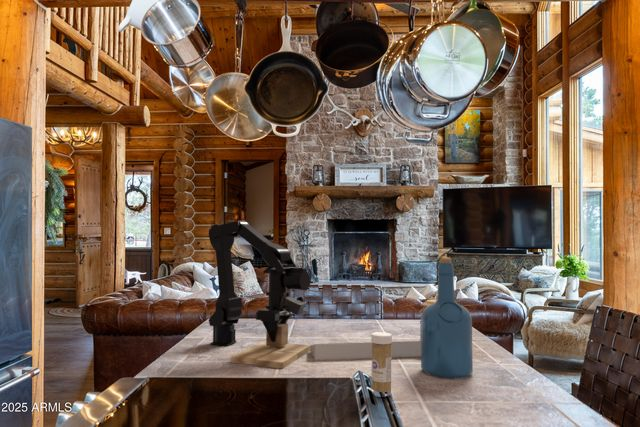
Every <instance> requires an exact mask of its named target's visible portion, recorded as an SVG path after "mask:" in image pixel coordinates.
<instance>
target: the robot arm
mask: <svg viewBox="0 0 640 427" xmlns="http://www.w3.org/2000/svg"><path fill="white" fill-rule="evenodd" d="M239 236H240V237H241V238H242V239H243V240H245V241H246V242H247V243H248V244H250V245H251V246H252V247H253V248H254V249H255V250H257V251H258V252H259V253H260V255H261V258H262V259H263V260H264V262H265V263H266V264H267V267H266V268H265V269H264V270H263V271H262V274H268V291H266V292H265V296H267V297H268V301H267V302H268V304H267V305H265V308H261V309H259V310H257V311H256V312H255V320H256V321H260V322H262V324H263V326H264V327H265V330H266V332H268V335H269V337H270V339H271V341H272V342H275V340H276V334H277V326H278V324H279V323H282V324H288V321H289V320H290V319H291V318H292V317H293V316H294V315H297V316H298V315H300V314H303V311H304V309H305V308H306V305H307V304H306V302H305V300H306V299H305V297H304V296H301V295H300V296H299V295H298V296H297V298H296V297H292V296H291V292H290V290H293V291H307V290H309V288H310V286H311V280H312V279H311V276H310V274H309V272H308V268H307V267H297V265H296V263H295V261H294V260H293V258H292V256H291V252H290V250H289V248H286V247H285V246H282V245H280V244H279V243H275V242H272V241H271V240H269V239H267V237H265V236H264V235H263V234H261V233H260V232H259V231H258V230H256V229H255V228H254V227H252V226H251V225H250V224H249V223H248V222H247V221H246V220H235V221H231V222H227V223H222V224H219V223H217V224H213V225H211V227H210V228H209V230H208V238H209V241H210V242H209V243H210V245H211V246H212V248H213V249H214V251H215V257H216V271H217V280H218V281H217V282H218V292H219V293H218V294H219V295H218V297H217V300H216V302H215V311H214V312H213V314H212V315H211V316H210V317H209V318H208V324H209V326H210V327H212V328H213V329H212V341H211V342H210V343H209V344H210V345H214V346H215V345H216V346H224V347H227V346H230V345H232V344H235V343H237V340H236V329H235V324H236V325H237V324H238V323H239V319H240V317H241V315H242V313H243V312H242V311H243V310H244V308H243V298H242V297H241V296H239V297H238V296H237V294H236V293H235V292H236V291H235V282H234V270H233V261H232V252H231V251H232V248H233V245H234V243H235V238H236V237H239ZM288 290H289V291H288ZM290 313H292V314H290Z"/></svg>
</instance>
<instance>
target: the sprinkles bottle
mask: <svg viewBox="0 0 640 427" xmlns="http://www.w3.org/2000/svg"><path fill="white" fill-rule="evenodd" d="M370 340H371V341H370V342H372V359H371V390H372V389H373V390H375V391H377V392H387V391H390V393H391V395H392V358H391V343H392V342H393V334H392V333H389V332H384V331H376V332H372V333H371V339H370Z"/></svg>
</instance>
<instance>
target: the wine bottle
mask: <svg viewBox="0 0 640 427" xmlns="http://www.w3.org/2000/svg"><path fill="white" fill-rule="evenodd" d="M436 275H437V276H438V278H437V294H438V299H437V301H436V302H435V303H433V304H431V305H429V306H427V307H426V308H425V309H424V311H423V313H422V315H421V314H420V315H421V316H420V321H421V357H420V364H421V365H420V366H421V367H420V368H421V370H422V372H423V373H425V374H427V375H430V376H433V377H435V378H436V377H437V378H440V379H442V378H443V379H451V380H453V379H464V378H467V377H470V376H472V374H473V371H474V370H473V367H474V366H473V318H472V315H471V313H470V312H469V310H468V309H467V308H466V307H464V306H463V305H461V304H459V303H458V302H457V301H456V299H455V285H454V284H455V281H454V279H455V278H454V276H455V271H454V263H453V262H452V258H451V257H440V262H438V268H437V274H436Z"/></svg>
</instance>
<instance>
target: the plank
mask: <svg viewBox="0 0 640 427" xmlns="http://www.w3.org/2000/svg"><path fill="white" fill-rule="evenodd" d="M277 348H279V347H276V346H266V341H264V342H263V341H261V342H259V343H256V344H255V345H253V346H250V347H248V348H246V349H244V350H242V351H240V352H237V353H236V354H233V355H231V356H230V363H233V364H234V363H236V364H246V365H247V364H248V365H255V366H256V359H258V358H260V357H262V356H264V355H266V354H268V353H270V352H272V351H273V350H275V349H277Z"/></svg>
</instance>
